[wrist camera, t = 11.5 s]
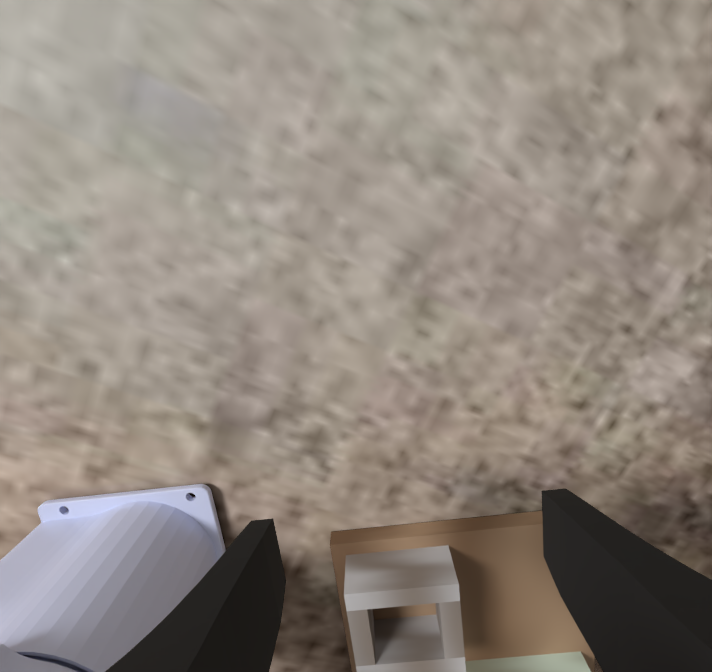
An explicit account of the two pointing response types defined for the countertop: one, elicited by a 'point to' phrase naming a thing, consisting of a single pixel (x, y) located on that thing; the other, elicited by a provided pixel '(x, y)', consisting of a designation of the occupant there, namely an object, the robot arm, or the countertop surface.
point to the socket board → (454, 598)
